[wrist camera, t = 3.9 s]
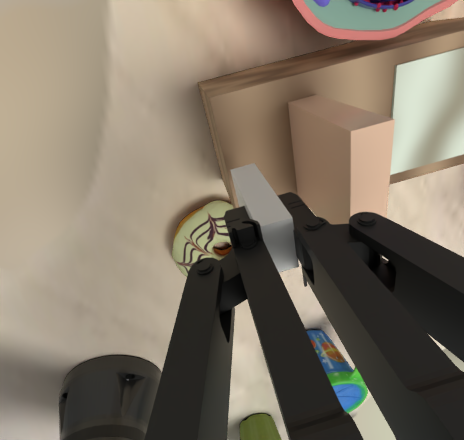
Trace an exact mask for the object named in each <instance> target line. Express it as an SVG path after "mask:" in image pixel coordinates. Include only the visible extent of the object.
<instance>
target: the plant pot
mask: <svg viewBox="0 0 464 440" xmlns="http://www.w3.org/2000/svg"><path fill="white" fill-rule="evenodd" d="M240 440H281V437H280V435H279V432H278V430H277V427H276V425H275V423H274V420H273V418H272V417H271V416H268V415H267V414H257V415H252V416H250V417H248V419H247V420H245V421H242V422H241V424H240Z"/></svg>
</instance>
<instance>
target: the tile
mask: <svg viewBox="0 0 464 440" xmlns="http://www.w3.org/2000/svg"><path fill="white" fill-rule="evenodd" d="M288 109H289V118H290V127H291V137H292V146H293V156H294V165H295V174H296V184H297V193H298V195H299V196H300V198H301V199H302V200H303V201H304V202H305V203H306V205H307V206H308V207H309V208H310V209H311V210H312V211H313V213H314V214H315V215H316V216H317V217H321V218H324V219H326V220H327V221H328V222H329V223H330V224H349V219H350V217H351V216H352V215H354V214H356V213H359V212H373V213H376V214H379V215H381V216H383V217H385V218H387V206H388V194H389V182H390V171H391V159H392V147H393V135H394V124H395V119H392V118H389V117H386V116H383V115H380V114H376V113H373V112H370V111H367V110H364V109H361V108H357V107H354V106H351V105H348V104H345V103H341V102H338V101H335V100H332V99H329V98H326V97H322V96H319V95H313V96H310V97H306V98H302V99H299V100H295V101H291V102H288Z"/></svg>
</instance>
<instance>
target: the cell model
mask: <svg viewBox="0 0 464 440" xmlns="http://www.w3.org/2000/svg"><path fill="white" fill-rule="evenodd" d="M456 1H458V0H292V2H293V3H294V5H295V6H296V8H297V9H298V10H299V12H300V13H301V14H302V16H303V17H304V18H305V20H306V21H307V22H308V23H309V24H310V25H311V26H312V27H313V28H314V29H316V30H317V31H318V32H319V33H322V34H324V35H326V36H328V37H333V38H338V39H349V40H385V39H389V38H394V37H396V36H398V35H400V34H402V33H404V32H406V31H407V30H409V29H410V28H412V27H413V26H415V25H417V24H418V23H420V22H421V21H423V20H424V19H426V18H428V17H430V16H432V15H434V14H436V13H438V12H440V11H442V10H444V9H446V8H448V7H450V6H451V5H452V4H454V3H455V2H456Z"/></svg>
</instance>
